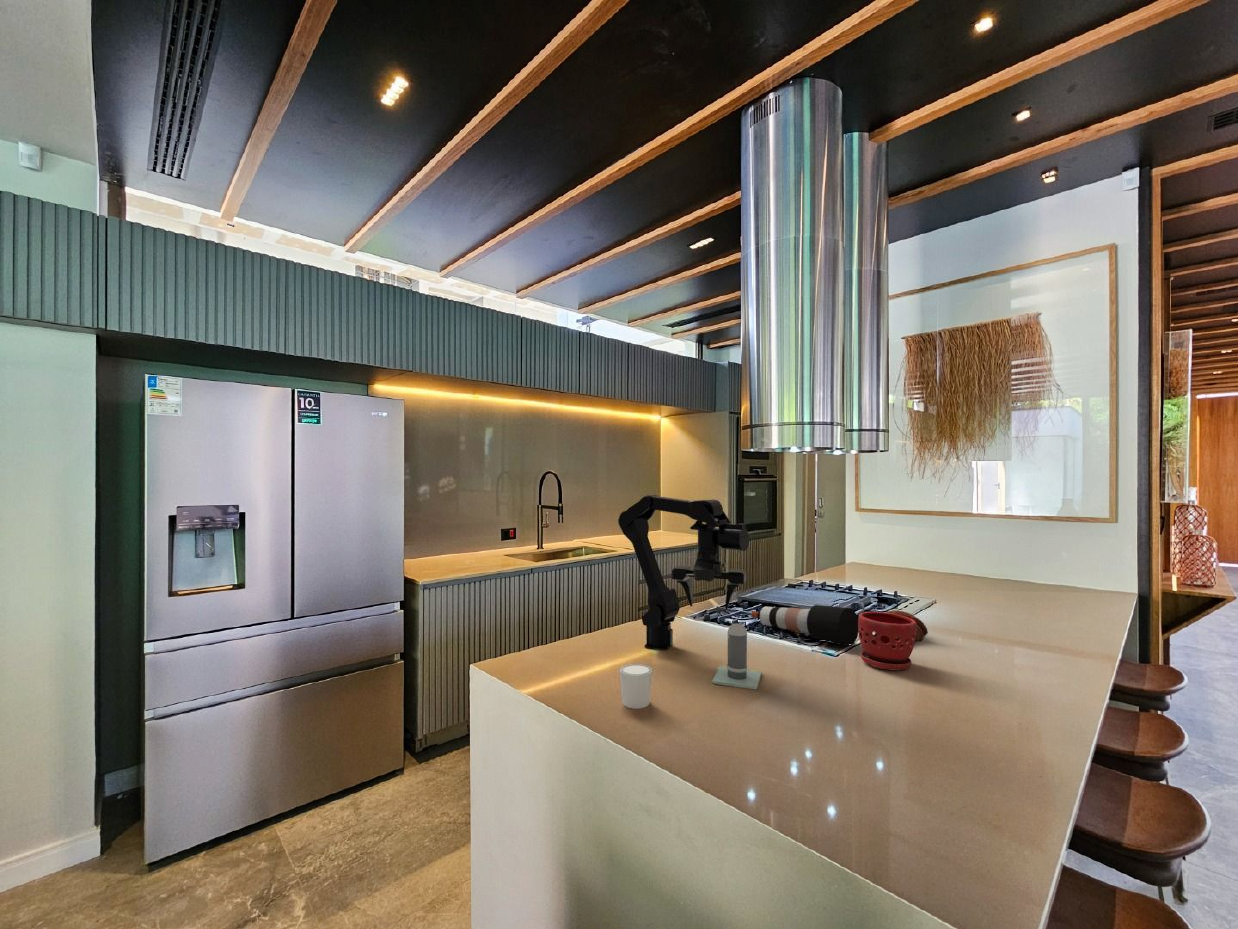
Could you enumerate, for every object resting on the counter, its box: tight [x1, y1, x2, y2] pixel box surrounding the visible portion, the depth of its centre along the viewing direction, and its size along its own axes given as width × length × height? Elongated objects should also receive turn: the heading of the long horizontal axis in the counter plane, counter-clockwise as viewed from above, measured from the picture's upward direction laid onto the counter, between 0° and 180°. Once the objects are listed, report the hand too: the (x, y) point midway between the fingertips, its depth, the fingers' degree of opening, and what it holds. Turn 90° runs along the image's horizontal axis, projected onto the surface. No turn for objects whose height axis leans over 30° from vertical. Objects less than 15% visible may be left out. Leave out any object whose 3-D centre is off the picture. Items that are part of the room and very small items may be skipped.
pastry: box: [885, 610, 929, 644], centre depth 161 cm, size 17×15×8 cm
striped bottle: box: [750, 604, 859, 646], centre depth 164 cm, size 10×34×10 cm, turn 37°
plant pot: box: [857, 611, 916, 671], centre depth 137 cm, size 13×13×12 cm
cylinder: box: [726, 622, 748, 680], centre depth 127 cm, size 5×5×12 cm
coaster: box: [711, 666, 762, 690], centre depth 127 cm, size 10×10×1 cm
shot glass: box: [619, 663, 653, 710], centre depth 114 cm, size 7×7×7 cm
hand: (708, 607), depth 142 cm, fingers open, 9 cm apart
